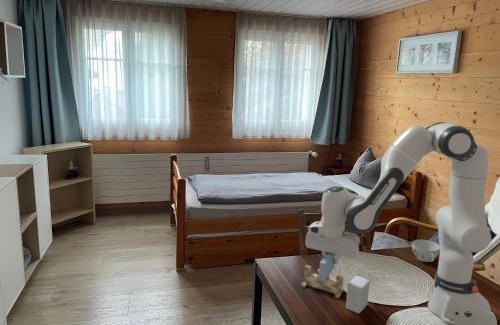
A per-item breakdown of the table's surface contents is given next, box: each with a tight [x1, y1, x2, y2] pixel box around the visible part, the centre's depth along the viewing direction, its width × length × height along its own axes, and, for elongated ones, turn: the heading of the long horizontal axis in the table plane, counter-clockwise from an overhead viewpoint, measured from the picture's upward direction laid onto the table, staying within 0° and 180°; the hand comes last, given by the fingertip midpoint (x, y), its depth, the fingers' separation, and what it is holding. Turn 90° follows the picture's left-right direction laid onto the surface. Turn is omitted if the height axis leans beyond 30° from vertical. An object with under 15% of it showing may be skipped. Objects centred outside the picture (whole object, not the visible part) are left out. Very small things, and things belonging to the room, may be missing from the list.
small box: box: [345, 275, 371, 314], centre depth 142 cm, size 8×6×10 cm
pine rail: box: [300, 264, 345, 299], centre depth 154 cm, size 16×7×8 cm, turn 60°
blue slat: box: [318, 252, 336, 281], centre depth 141 cm, size 12×2×7 cm, turn 150°
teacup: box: [411, 239, 440, 263], centre depth 181 cm, size 15×12×8 cm
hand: (330, 262), depth 145 cm, fingers closed on blue slat, 2 cm apart
